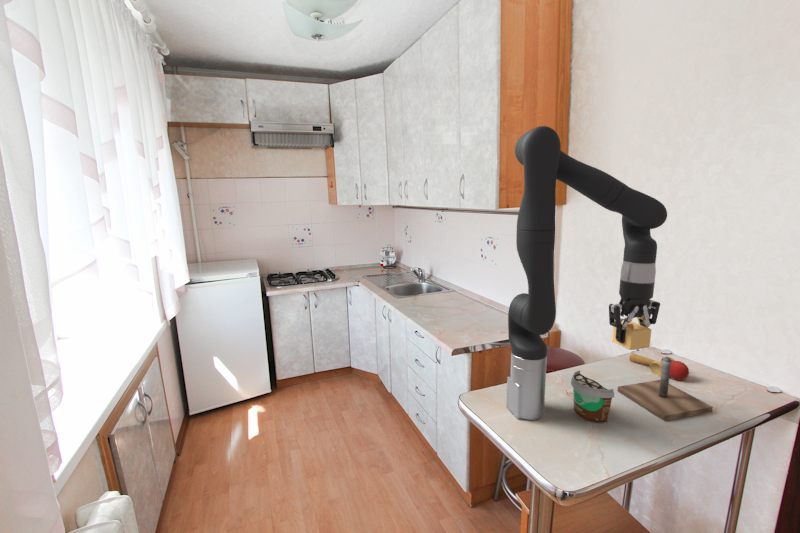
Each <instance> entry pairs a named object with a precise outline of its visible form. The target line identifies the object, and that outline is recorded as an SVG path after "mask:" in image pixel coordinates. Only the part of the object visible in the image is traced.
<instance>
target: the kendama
mask: <svg viewBox="0 0 800 533" xmlns="http://www.w3.org/2000/svg"><path fill="white" fill-rule="evenodd" d="M668 357H669V358H670V359H671V368H670V376H669V378H671V379H673V380H675V381H683V380H686V379H687V378H688V376H689V374H690V369H689V367H688V366H687V365H686V364H685V363H684V362H683V361H679V360H675V359H674V358H673V357H671V356H668ZM663 358H664V357H662V358H661V361H658V360H654V359H651V358H648V357H645V356H643V355H638V354H636V353H633V352H632V353H631V354H630V355H629V361H630V362H632V363H637V364H642V365H647V366H649V369H650V372H652V373H653V374H654V375H656V376H657V377H661V370H662V362H663Z"/></svg>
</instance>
